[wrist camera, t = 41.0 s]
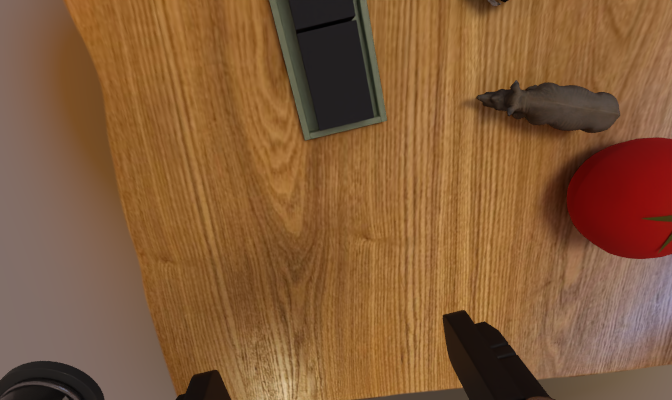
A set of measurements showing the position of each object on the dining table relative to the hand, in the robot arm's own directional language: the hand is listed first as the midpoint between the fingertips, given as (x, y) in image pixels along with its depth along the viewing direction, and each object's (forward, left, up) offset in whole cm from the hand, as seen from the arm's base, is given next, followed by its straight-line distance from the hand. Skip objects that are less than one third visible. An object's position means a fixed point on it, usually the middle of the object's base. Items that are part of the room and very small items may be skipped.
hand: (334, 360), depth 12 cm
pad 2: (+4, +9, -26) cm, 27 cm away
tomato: (+31, -9, -26) cm, 42 cm away
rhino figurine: (+23, +2, -26) cm, 35 cm away
